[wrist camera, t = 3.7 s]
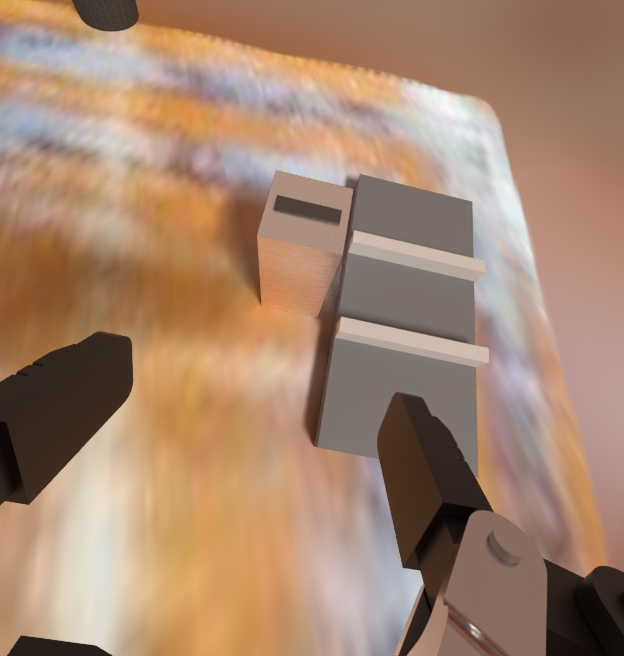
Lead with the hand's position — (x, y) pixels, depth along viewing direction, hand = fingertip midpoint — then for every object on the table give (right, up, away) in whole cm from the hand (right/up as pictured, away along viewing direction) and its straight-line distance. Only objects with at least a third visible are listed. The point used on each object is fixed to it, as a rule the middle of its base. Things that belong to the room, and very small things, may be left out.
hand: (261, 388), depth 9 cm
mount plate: (+10, +4, +19) cm, 21 cm away
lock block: (0, +6, +18) cm, 19 cm away
